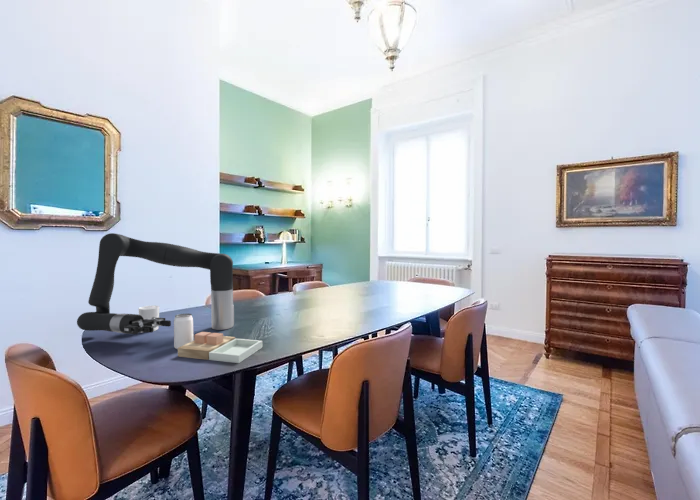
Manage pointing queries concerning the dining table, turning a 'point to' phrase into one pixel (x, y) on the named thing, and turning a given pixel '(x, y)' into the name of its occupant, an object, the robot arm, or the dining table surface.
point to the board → (200, 349)
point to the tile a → (201, 337)
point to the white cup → (149, 313)
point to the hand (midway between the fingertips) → (161, 326)
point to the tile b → (215, 338)
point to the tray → (235, 350)
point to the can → (183, 329)
